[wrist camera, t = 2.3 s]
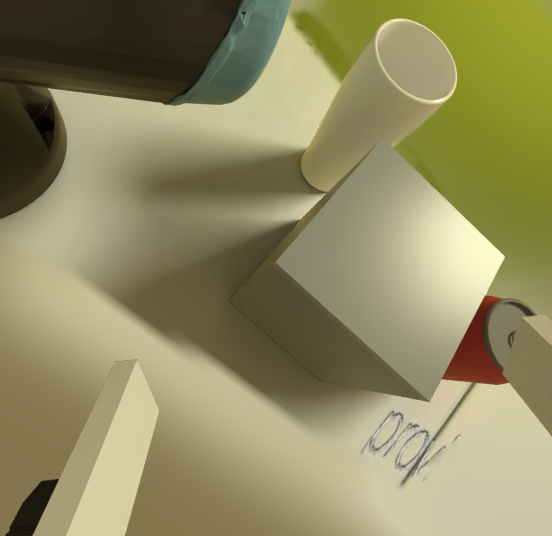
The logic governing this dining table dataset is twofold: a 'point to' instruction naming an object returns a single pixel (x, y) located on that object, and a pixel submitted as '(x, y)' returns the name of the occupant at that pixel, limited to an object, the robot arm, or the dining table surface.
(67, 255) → the dining table surface
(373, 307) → the tall grey box
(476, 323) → the beer can
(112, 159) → the dining table surface
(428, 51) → the drinking glass
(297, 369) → the dining table surface
